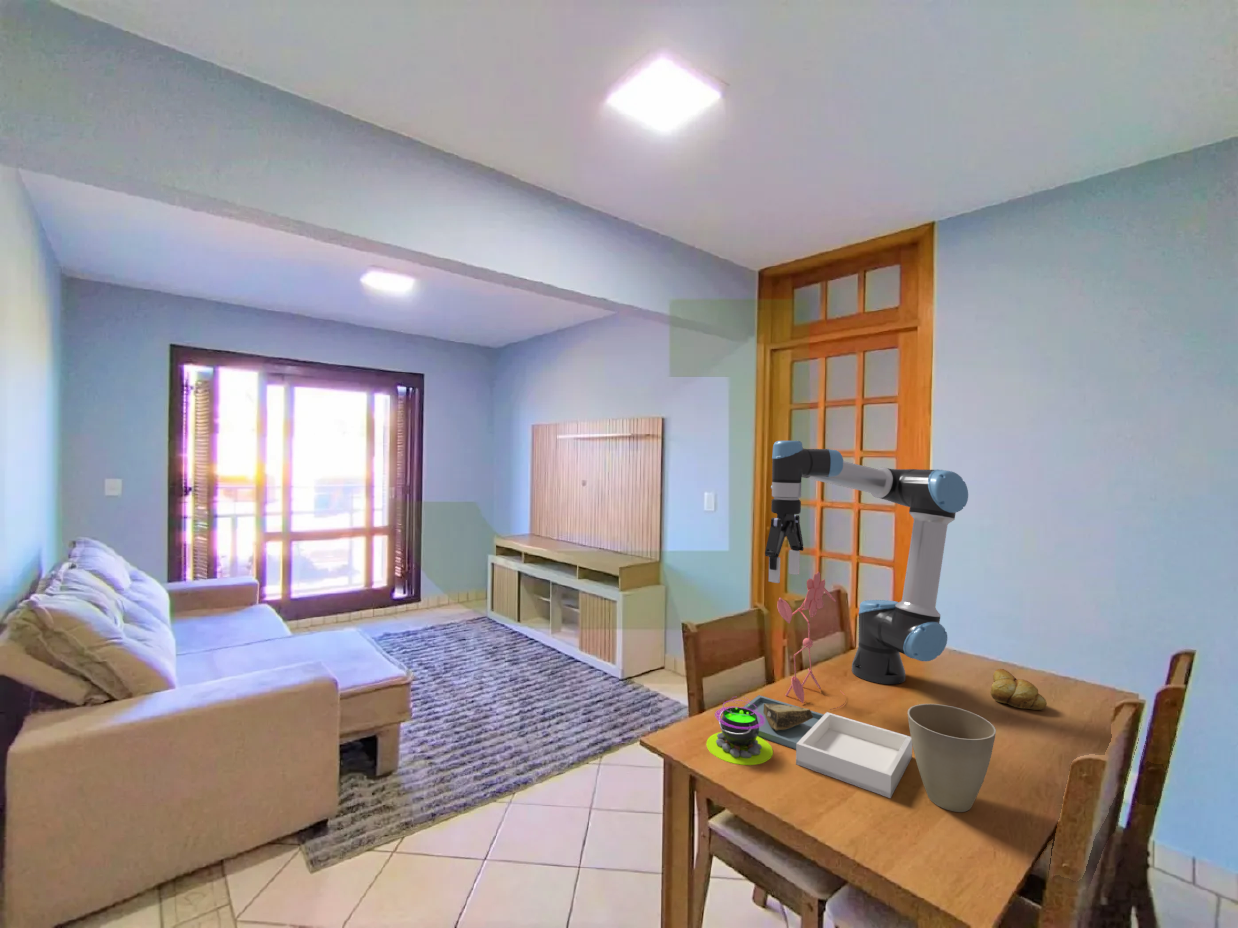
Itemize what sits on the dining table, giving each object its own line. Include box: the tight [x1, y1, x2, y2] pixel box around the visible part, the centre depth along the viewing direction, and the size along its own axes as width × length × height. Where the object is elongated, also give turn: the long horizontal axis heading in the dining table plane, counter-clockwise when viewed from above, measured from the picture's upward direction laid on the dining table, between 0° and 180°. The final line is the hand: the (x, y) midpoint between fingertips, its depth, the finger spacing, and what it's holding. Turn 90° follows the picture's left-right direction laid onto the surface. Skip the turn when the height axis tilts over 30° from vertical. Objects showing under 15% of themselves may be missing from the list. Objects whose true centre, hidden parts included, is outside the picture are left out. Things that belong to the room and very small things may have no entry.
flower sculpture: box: [776, 571, 846, 711], centre depth 156 cm, size 15×26×35 cm, turn 135°
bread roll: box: [990, 668, 1047, 711], centre depth 155 cm, size 13×10×8 cm
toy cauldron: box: [706, 696, 774, 766], centre depth 129 cm, size 15×15×11 cm
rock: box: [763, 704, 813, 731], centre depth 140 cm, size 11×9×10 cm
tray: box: [743, 694, 825, 751], centre depth 141 cm, size 19×19×2 cm
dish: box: [795, 711, 913, 799], centre depth 124 cm, size 20×19×4 cm
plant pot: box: [907, 703, 997, 813], centre depth 110 cm, size 15×15×16 cm
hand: (784, 578), depth 150 cm, fingers open, 13 cm apart
